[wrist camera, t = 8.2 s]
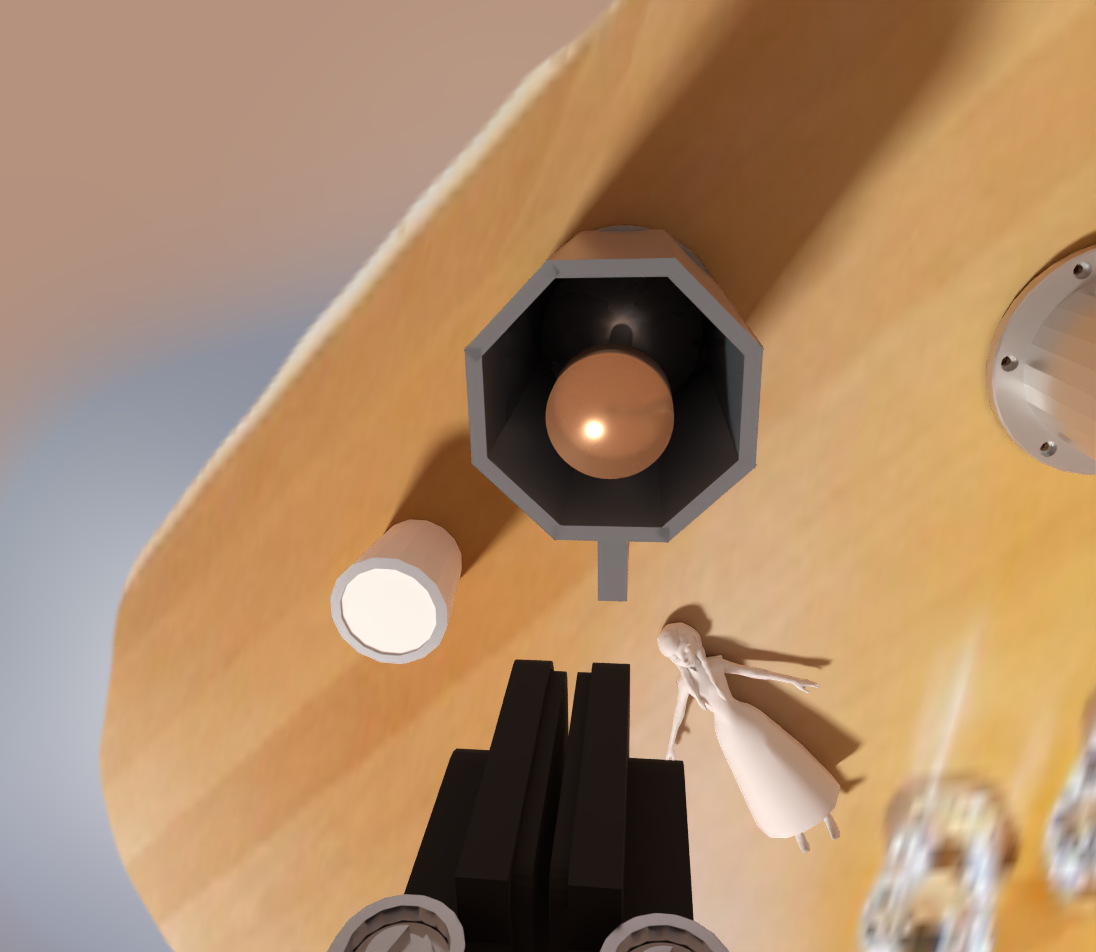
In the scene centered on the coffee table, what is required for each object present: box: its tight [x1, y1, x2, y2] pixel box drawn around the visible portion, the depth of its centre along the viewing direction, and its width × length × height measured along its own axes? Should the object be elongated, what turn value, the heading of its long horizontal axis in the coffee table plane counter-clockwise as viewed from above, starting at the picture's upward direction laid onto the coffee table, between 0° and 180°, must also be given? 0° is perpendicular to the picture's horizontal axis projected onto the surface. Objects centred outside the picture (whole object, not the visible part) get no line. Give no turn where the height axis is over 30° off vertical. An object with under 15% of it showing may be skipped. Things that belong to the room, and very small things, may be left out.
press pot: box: [464, 225, 764, 601], centre depth 38 cm, size 11×14×18 cm
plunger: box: [543, 277, 702, 479], centre depth 36 cm, size 8×8×17 cm
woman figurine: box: [657, 622, 841, 853], centre depth 53 cm, size 12×4×18 cm
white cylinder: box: [330, 519, 462, 664], centre depth 49 cm, size 7×7×7 cm
